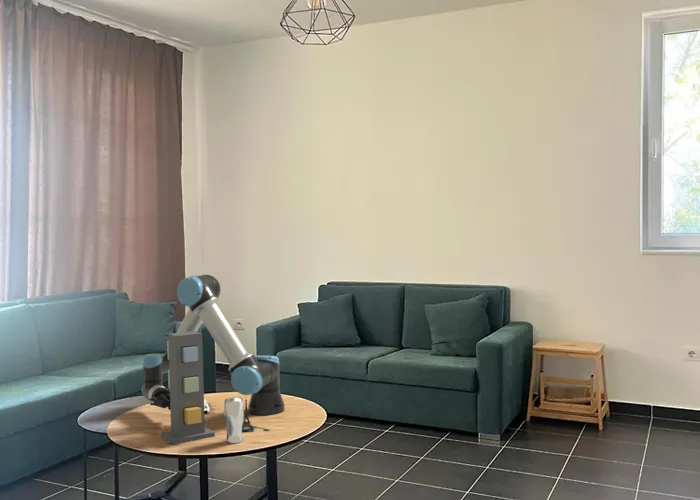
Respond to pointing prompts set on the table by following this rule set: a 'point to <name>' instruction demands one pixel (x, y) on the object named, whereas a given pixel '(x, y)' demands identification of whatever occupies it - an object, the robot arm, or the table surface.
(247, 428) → the eiffel tower figurine
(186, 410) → the amber button
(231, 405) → the beer glass
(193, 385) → the sage button
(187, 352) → the blue button
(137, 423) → the table surface
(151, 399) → the robot arm
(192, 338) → the button column
